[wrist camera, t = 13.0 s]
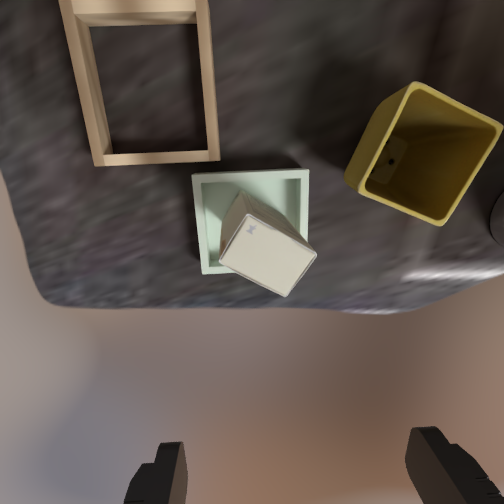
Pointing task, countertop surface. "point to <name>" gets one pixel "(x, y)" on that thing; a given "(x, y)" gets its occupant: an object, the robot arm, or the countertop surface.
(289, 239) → the skincare box
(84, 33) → the frame
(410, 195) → the flower pot
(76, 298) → the countertop surface
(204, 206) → the parts tray
